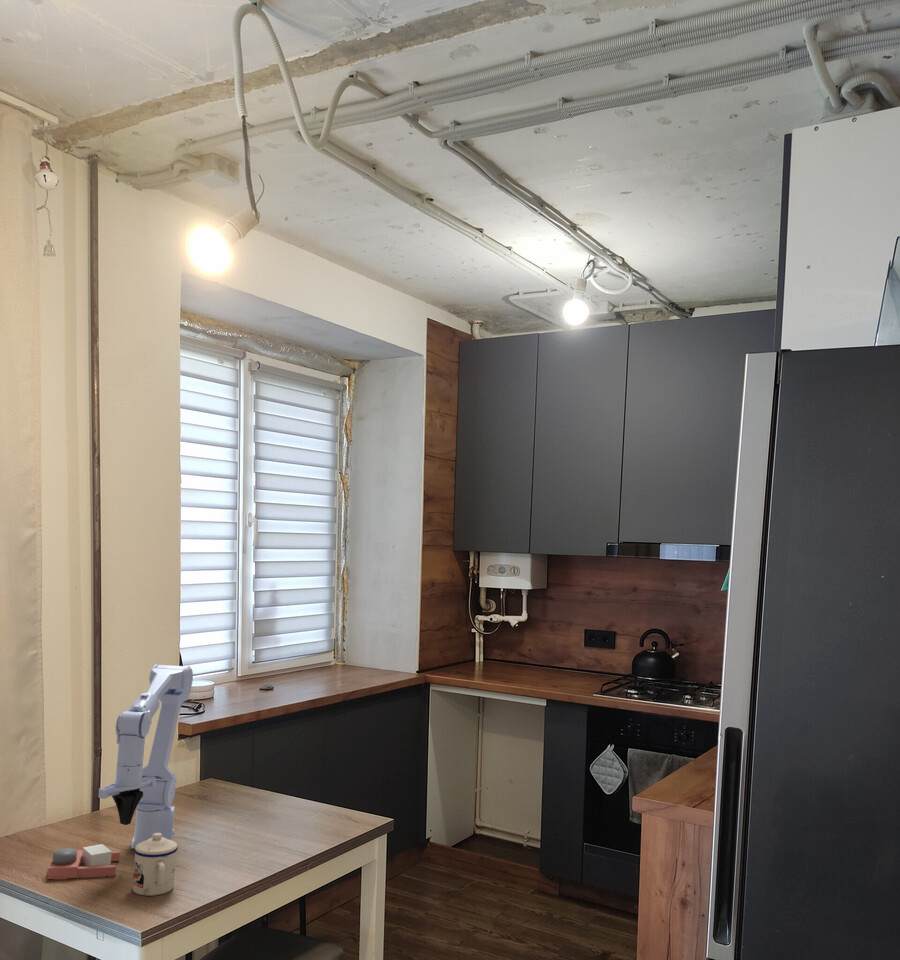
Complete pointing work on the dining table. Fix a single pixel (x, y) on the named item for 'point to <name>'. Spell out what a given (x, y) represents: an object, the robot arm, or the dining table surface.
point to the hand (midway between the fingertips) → (125, 823)
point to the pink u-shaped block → (77, 865)
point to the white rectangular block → (96, 856)
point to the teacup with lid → (154, 866)
